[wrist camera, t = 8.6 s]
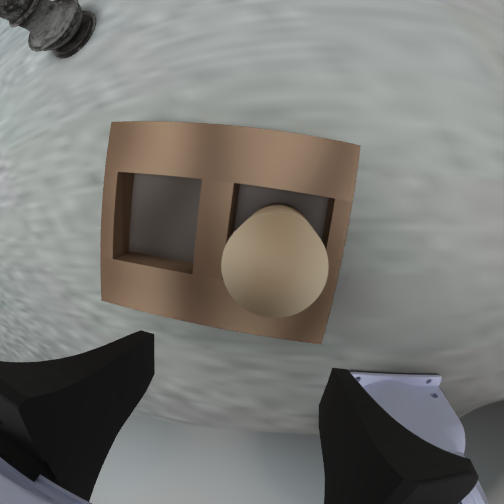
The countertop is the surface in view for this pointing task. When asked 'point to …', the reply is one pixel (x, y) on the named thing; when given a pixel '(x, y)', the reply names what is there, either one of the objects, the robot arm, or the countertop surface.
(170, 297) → the block
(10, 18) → the grey chess piece
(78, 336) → the countertop surface
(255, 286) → the beech pin
